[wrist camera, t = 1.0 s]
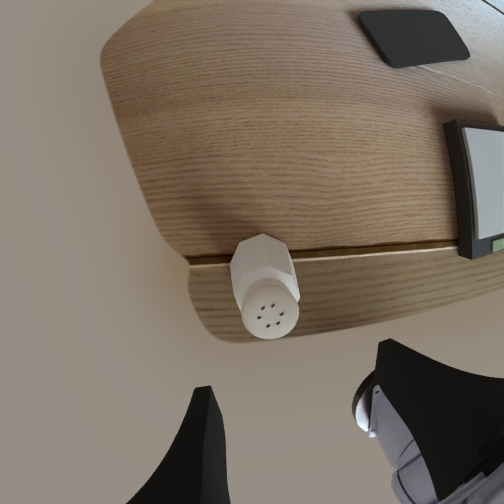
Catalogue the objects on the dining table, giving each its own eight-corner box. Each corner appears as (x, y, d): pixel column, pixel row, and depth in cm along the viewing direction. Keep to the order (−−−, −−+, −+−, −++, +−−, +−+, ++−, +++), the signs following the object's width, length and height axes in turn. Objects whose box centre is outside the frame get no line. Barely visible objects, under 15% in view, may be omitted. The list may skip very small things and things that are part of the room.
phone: (473, 58, 19) (393, 68, 20) (469, 60, 20) (389, 71, 21) (442, 10, 18) (354, 11, 19) (439, 13, 18) (352, 15, 19)
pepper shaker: (306, 265, 24) (347, 314, 13) (260, 307, 25) (266, 380, 14) (263, 219, 23) (274, 234, 12) (216, 263, 24) (190, 313, 13)
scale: (514, 238, 24) (529, 242, 21) (458, 255, 24) (475, 261, 21) (502, 130, 21) (517, 127, 18) (442, 123, 22) (459, 118, 19)
